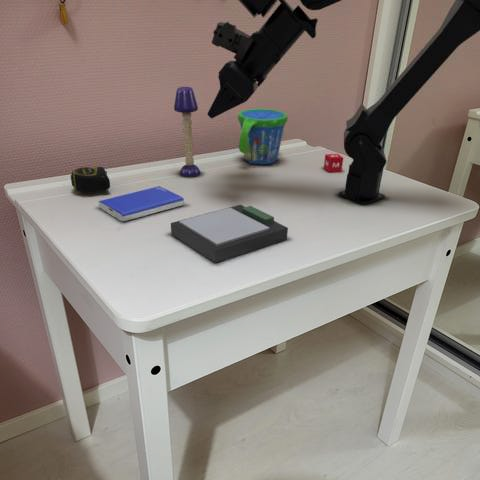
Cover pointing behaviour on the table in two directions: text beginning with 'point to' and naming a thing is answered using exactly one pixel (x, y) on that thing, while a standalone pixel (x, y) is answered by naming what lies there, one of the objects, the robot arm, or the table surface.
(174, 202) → the hard drive
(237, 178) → the table surface
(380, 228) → the table surface
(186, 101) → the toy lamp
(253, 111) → the snack cup
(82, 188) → the tape measure
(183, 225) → the scale
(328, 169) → the dice
